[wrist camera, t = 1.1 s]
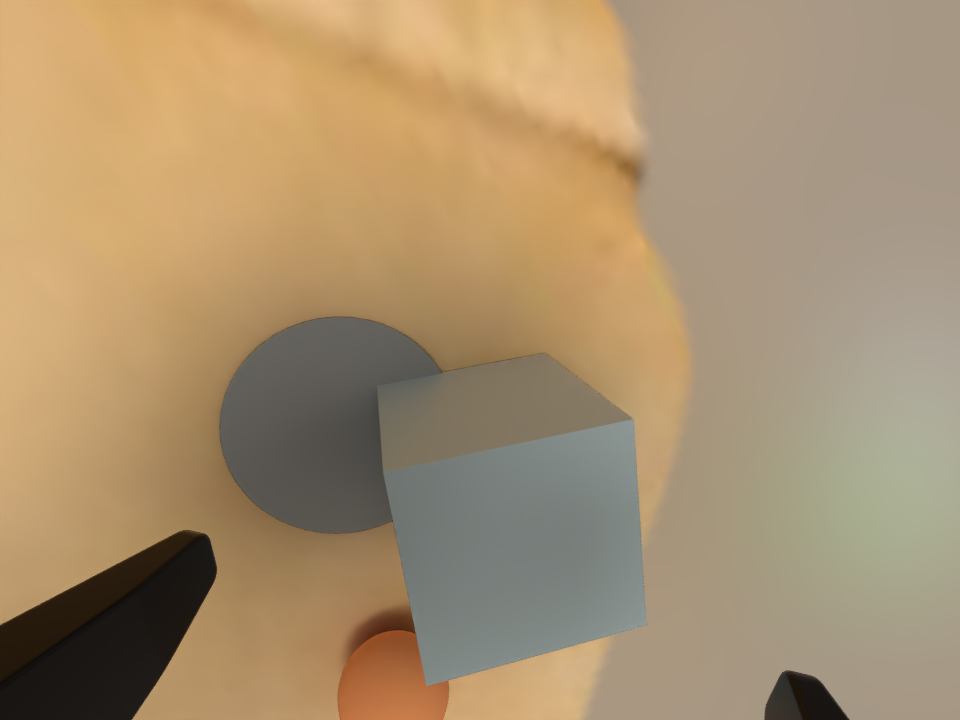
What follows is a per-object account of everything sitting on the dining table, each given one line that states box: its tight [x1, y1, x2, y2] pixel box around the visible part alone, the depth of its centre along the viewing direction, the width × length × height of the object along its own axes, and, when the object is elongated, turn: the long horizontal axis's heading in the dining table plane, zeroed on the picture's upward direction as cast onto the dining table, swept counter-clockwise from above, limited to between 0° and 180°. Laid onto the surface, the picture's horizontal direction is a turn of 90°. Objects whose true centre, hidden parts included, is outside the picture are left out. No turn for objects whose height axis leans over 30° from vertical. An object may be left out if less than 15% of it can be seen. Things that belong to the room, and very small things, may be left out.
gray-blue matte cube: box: [377, 353, 647, 686], centre depth 22 cm, size 8×8×9 cm
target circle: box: [220, 317, 442, 534], centre depth 24 cm, size 10×10×1 cm
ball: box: [338, 630, 449, 720], centre depth 25 cm, size 5×5×5 cm
